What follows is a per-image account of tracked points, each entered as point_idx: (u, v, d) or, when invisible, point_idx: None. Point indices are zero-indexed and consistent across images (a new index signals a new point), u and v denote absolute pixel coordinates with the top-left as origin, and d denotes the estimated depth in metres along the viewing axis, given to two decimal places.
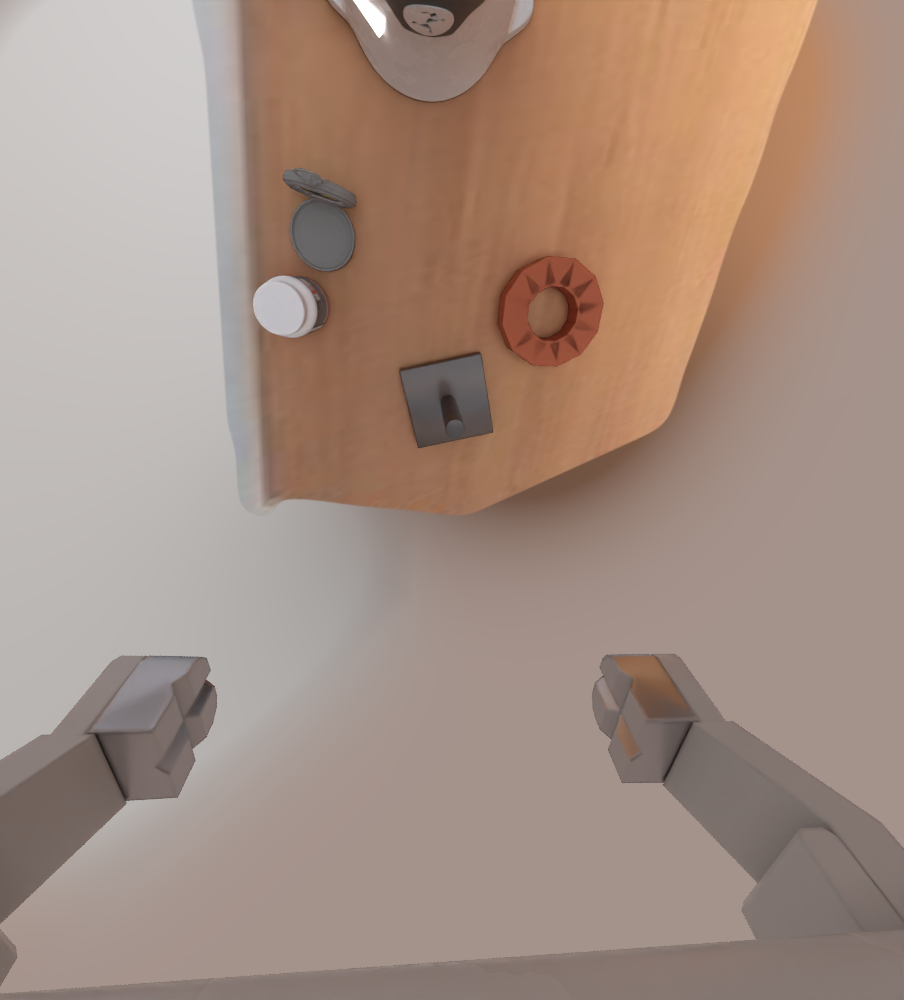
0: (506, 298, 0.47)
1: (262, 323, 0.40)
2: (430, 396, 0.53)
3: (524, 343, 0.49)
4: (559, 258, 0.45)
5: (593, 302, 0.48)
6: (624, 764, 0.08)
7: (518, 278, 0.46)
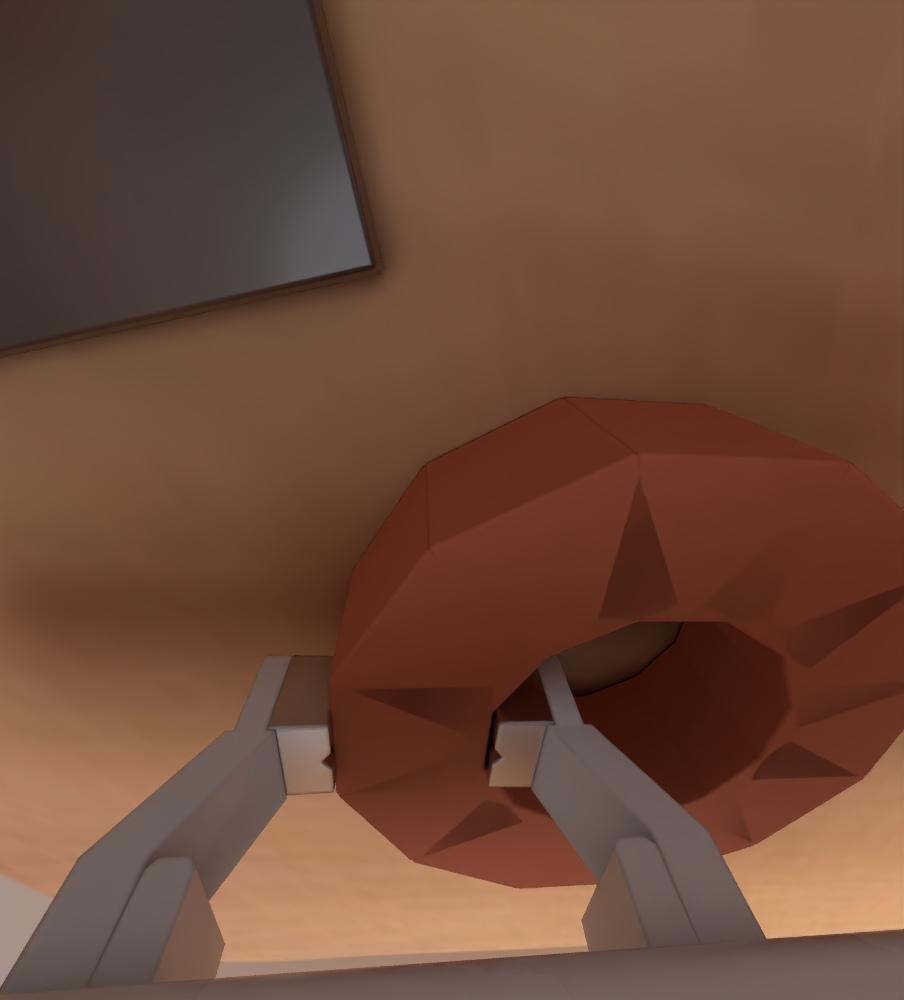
0: (831, 470, 0.06)
1: None
2: None
3: (480, 624, 0.06)
4: None
5: None
6: (489, 768, 0.08)
7: None
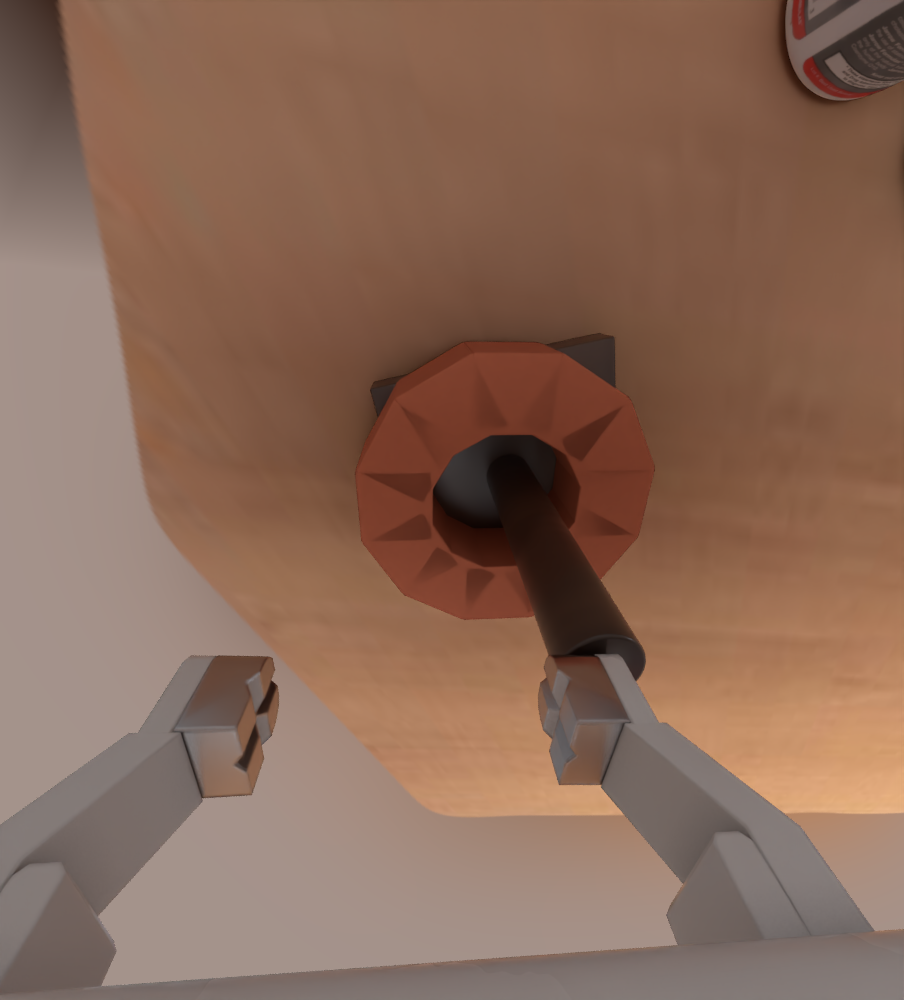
0: (555, 357, 0.14)
1: None
2: None
3: (420, 437, 0.15)
4: (645, 497, 0.17)
5: None
6: (560, 766, 0.08)
7: (610, 389, 0.15)
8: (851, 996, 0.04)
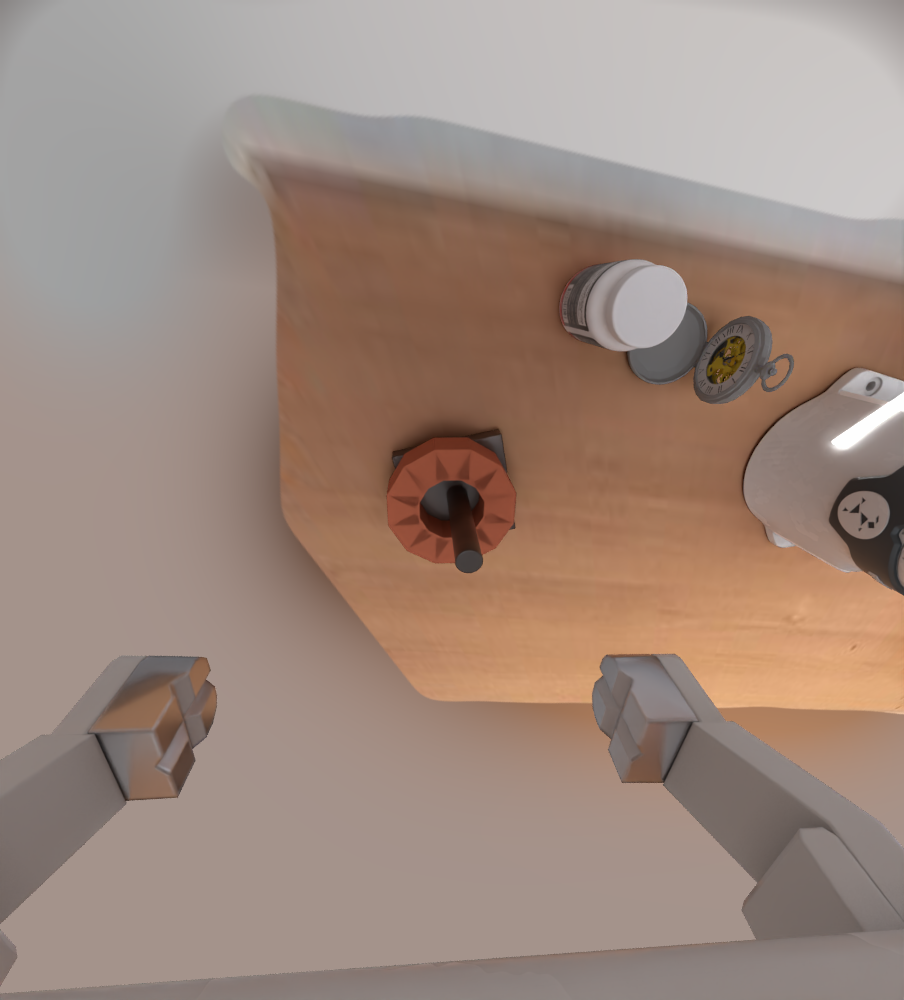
0: (468, 450, 0.35)
1: (636, 276, 0.25)
2: None
3: (414, 481, 0.36)
4: (514, 506, 0.37)
5: None
6: (623, 765, 0.08)
7: (492, 462, 0.35)
8: (851, 996, 0.04)
